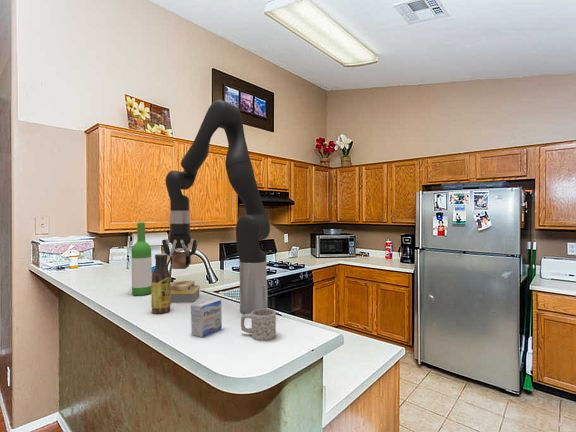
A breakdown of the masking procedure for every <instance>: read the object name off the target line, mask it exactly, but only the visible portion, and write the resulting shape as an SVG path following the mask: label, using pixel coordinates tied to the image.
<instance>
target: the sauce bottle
mask: <svg viewBox="0 0 576 432" xmlns="http://www.w3.org/2000/svg"><path fill="white" fill-rule="evenodd" d="M154 260H155V265H154V266H155V268H154V269H153V271H152V292H151V300H150V303H151V304H150V305H151V312H152V313H153V314H165V313H168V312H169V311H170V310H171V305H172V302H171V283H172V282H171V280H172V279H171V274H170V271H169V267H168V255H167V254H165V253H156V254H155V255H154Z"/></svg>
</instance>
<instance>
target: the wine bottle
mask: <svg viewBox="0 0 576 432" xmlns="http://www.w3.org/2000/svg"><path fill="white" fill-rule="evenodd" d="M136 231H137V233H136V236H137V241H136V242H135V243H134V244H132V245H133V246H132V248H131V293H132V295H133V296H141V297H142V296H147V295H149V294H152V273H153V270H152V269H153V268H152V265H153V264H152V261H153V260H152V247H151V245H150V244H149V243H148V242H146V223H145V222H137V224H136Z"/></svg>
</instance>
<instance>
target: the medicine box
mask: <svg viewBox="0 0 576 432" xmlns="http://www.w3.org/2000/svg"><path fill="white" fill-rule="evenodd" d="M222 318H223V317H222V300H221V299H217V298H209V299H205V300H203V301H199V302H196V303H194V304H193V303H192V304H191V305H190V320H191V321H190V323H191V324H190V325H191V326H190V327H191V330H190V332H191V335H192V336H196V337H201V338H205V337H207V336H209V335H212V334H213V333H217V332H218V331H220V330H222V329H223V328H222V327H223V326H222V325H223V324H222V322H223V321H222Z"/></svg>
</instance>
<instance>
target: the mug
mask: <svg viewBox="0 0 576 432" xmlns="http://www.w3.org/2000/svg"><path fill="white" fill-rule="evenodd" d="M276 315H277V314H276V311H275V310H274V309H271V308H267V309H257V310H254V311H252V312H251V314H242V315H241V317H240V328H241V331H242V332H245V333H246V334H247V333H248V334H251V338H252V340H256V341H259V342H260V341H261V342H264V341H266V342H267V341H271V340H273V339H275V338H276V337H277V336H276V335H277V331H276V324H277V323H276V321H277V319H276ZM245 319H251V328H247V327H245Z"/></svg>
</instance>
